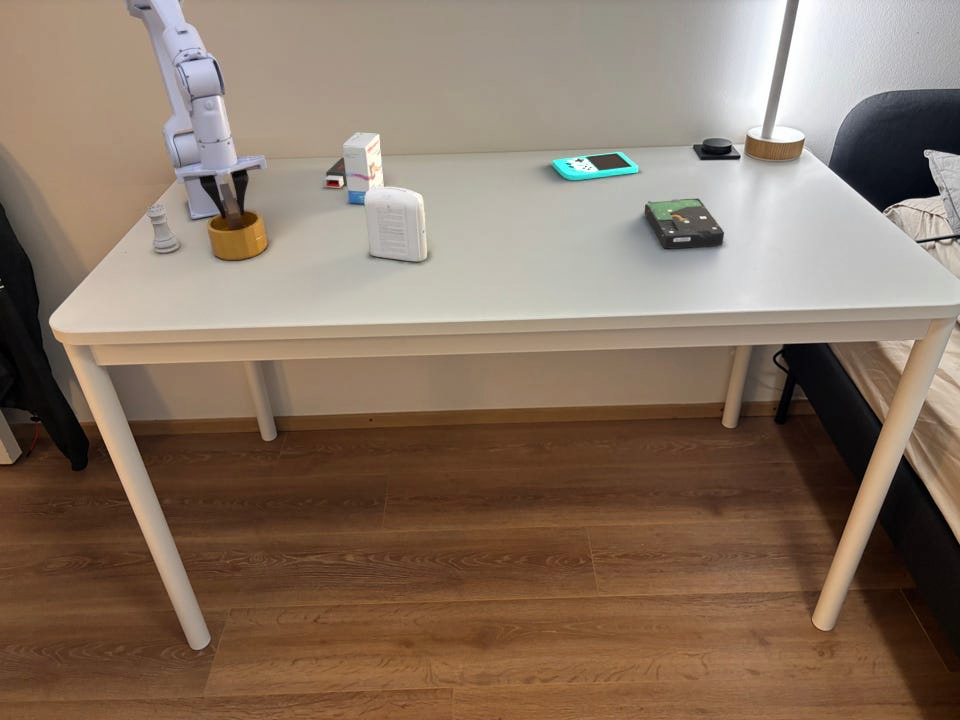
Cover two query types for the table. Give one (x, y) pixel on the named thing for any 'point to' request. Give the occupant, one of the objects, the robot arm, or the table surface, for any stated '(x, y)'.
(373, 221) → the photo printer
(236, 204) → the tall wooden post
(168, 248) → the rook chess piece
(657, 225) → the disk drive
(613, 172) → the handheld game console
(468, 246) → the table surface
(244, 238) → the bowl
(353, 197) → the ink box
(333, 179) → the usb drive
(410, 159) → the table surface
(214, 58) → the robot arm
